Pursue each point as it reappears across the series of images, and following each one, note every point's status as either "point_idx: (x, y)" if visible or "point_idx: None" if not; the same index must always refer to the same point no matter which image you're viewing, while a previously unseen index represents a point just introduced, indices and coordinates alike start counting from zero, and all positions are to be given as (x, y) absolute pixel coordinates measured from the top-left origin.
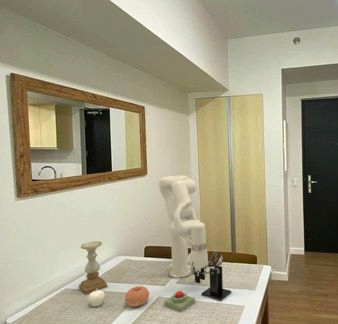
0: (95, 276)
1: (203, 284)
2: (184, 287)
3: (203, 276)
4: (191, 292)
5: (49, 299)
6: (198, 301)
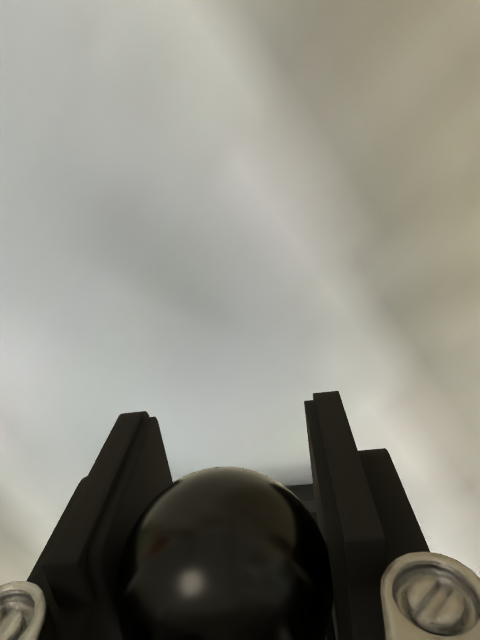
0: None
1: (406, 286)
2: (91, 64)
3: None
4: (82, 331)
5: None
6: (23, 556)
